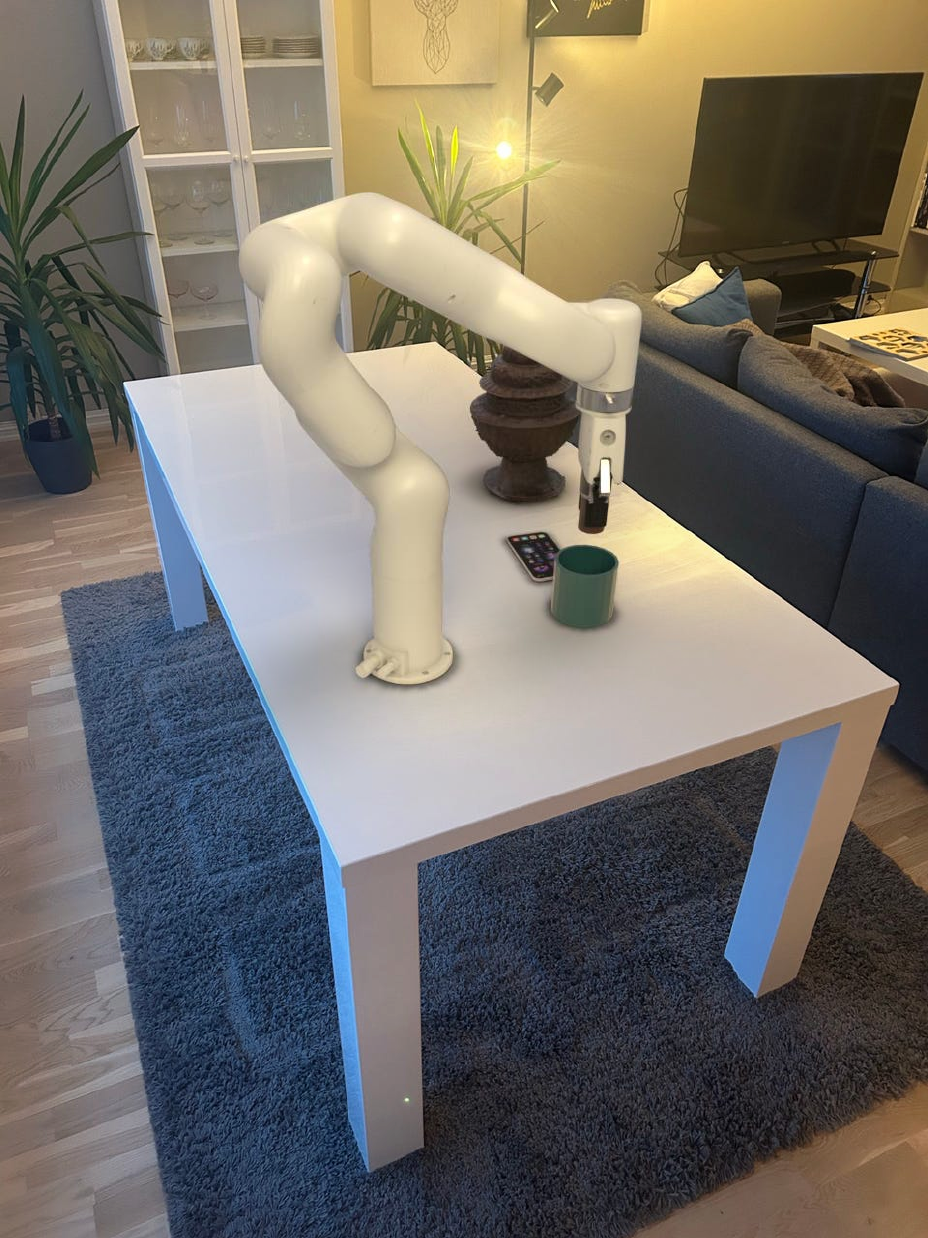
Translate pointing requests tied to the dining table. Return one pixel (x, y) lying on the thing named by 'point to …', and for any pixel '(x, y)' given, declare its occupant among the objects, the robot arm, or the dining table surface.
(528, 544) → the smartphone
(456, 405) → the dining table surface
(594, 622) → the cup
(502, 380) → the decorative urn
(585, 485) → the brown rounded cylinder
